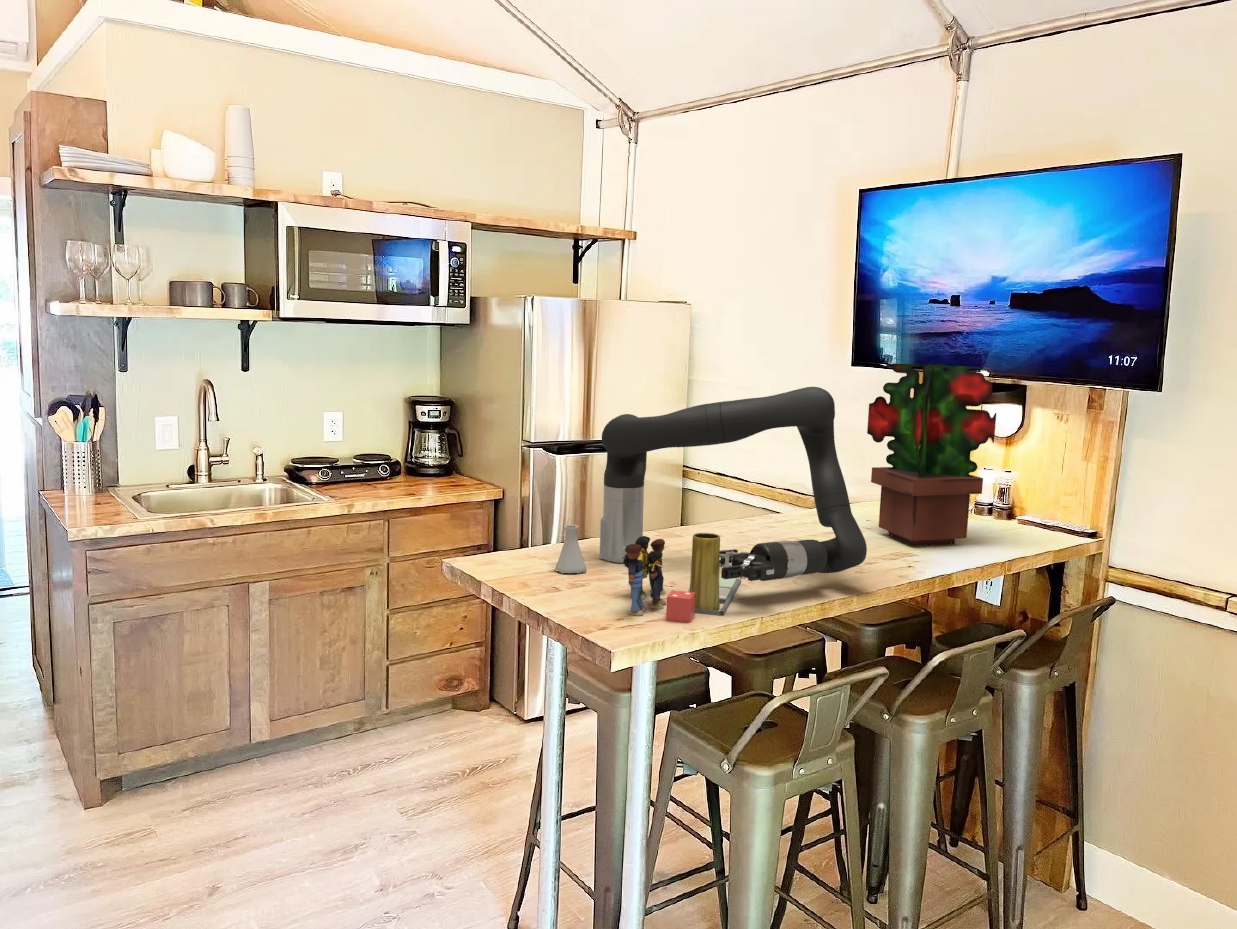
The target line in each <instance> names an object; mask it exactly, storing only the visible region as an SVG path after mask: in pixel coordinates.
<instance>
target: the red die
mask: <svg viewBox="0 0 1237 929" xmlns="http://www.w3.org/2000/svg"><path fill="white" fill-rule="evenodd" d="M665 612H666V613H665V620H666V621H671V622H680V623H688V622H690V623H691V622H692V620H693V619H694V617H695V614H696V613H695V592H688V591H683V590H671V591H670V592H669V593H668V595H667V596H666V610H665Z"/></svg>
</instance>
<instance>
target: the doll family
mask: <svg viewBox="0 0 1237 929" xmlns="http://www.w3.org/2000/svg"><path fill="white" fill-rule="evenodd" d="M650 540H651V537H649V536H646V535H643V536H641V537H639V538H638V539H637V540H636V542H635V544H630V545H628V546H626V547H623V548H624V549H625V552H627V554H626V555H625V556H624V557H625V558H624V557H623V558H624V561H623V563H622V564H623V565H624V568H626V569H627V571H628V573H627V574H628V585H629V587H630V596H631V606H630V611H629V612H628V615H632V616H638V617H639V616H643V615H644V612H646V611H647V610H646V608H645V606H644V603H643V600H646V599H647V593H646V591H644V589H643V588H644V587H643V584H644V583H643V580H645V579H647V578H648V580H649V585H650V591H651V593H650V594H649V595H650V596H649V598H651V599H652V600H651V602H652V603H650V605H649V608H650V609H656V610H662V609H664V605H665V604H666V605H667V600H666V599H664V598H661V596H664V595H666V591H665V589H664V580H665V578H664V575H663V570H662V568H663V567H665V566H664V565H663V559H662V557H663V551H664V550H665V544H666V541H665V540H664V538H657V539H655V540H652V542H650ZM649 543H650V547H651V549H652V550H651V551H650V552H648V549H649ZM623 558H622V559H623Z"/></svg>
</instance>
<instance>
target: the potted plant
mask: <svg viewBox="0 0 1237 929" xmlns="http://www.w3.org/2000/svg"><path fill="white" fill-rule="evenodd" d="M914 367H921V368H922V379H921V380H922V382H921V383H920V372H919V371H918V370H917V369H914ZM891 369H892V371H893V372H894V373H897V374H906V375H904V376H902V377H900V378H899V380H898V382H886V383H884V385H883V386H882V389H883V392H884V393H886V394H888V395H889V402H887V400H886V397H884V396H877V397H876V398H875V399H874V401H873V402H870V403H868V411H867V412H868V415H867V427H866V428H867V431H866V434H867V435H869V436H871V438H872V441H874V442H875V443H882V442H883V441H884V439H885V438H886V437H889V438H894V439H890V440H889V441H887V443H886V448H887V449H888V450H889V451H891V452H893V453H889V454H887V455H886V458H885V461H886V463H887V464H888V465H890V466H881V467H878V466H877V467H871V478H870V483H873V484H875V485H878V486H881V487H880V501H879V514H878V515H879V516H878V528H880V529H882V530H883V531H884V530H885V531H887V532H888V537H890V538H893V539H896V540H897V541H901V542H902V543H904V544H908V545H910V546H912V547H927V546H945V545H946V546H950V545H955V541H956V540H957V539H960V540H961V539H967V536H968V533H967V532H968V522H969V510H970V500H971V498H970V497H971V495H979V494H980V495H982V494H983V483H984V478H983V477H980V476H976V475H972V474H970V473H974V472H976V471H977V469H978V464H977V463H976V462H975V461H973V460H971V452H973V451H977V450H978V449H979V447H980V446H981V445H984V444H986V443H987V442H988V440H989V439H991V442H992V443H993V444H994V443H995V436H996V435H995V432H996V423H997V422H996V421H997V412H995V413H994V414H993V416H992V417H991V415H990V412H989V411H987V410H985V409H976V408H975V409H973V408H972V409H971V408H967V407H980V406H981V405H982V404H983V402H984V401H985V400H989V399H990V398H991V397H992V395H993V387H994V386H993V382H991V381H990V380H987V379H986V377H985V375H984V374H983V373H982V372H978V371H976V372H975V371H970V370H982V369H984V366H963V365H944V363H938V364H921V363H920V364H917V363H916V364H915V363H896V362H895V363H893V362H892V363H891ZM945 369H946V370H945ZM911 389H913V393H912V394H913V396H912V397H911V392H912V391H911Z"/></svg>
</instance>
